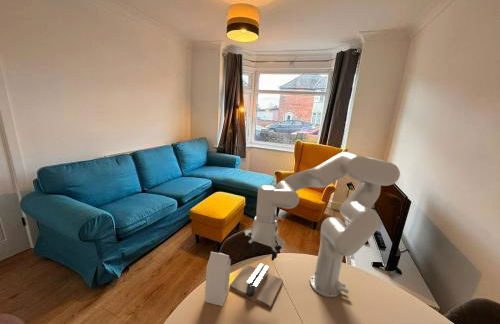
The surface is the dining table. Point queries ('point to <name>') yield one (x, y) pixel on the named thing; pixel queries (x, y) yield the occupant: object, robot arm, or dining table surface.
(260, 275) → the gray rounded bar
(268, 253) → the dining table surface
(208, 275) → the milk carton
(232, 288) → the walnut board
